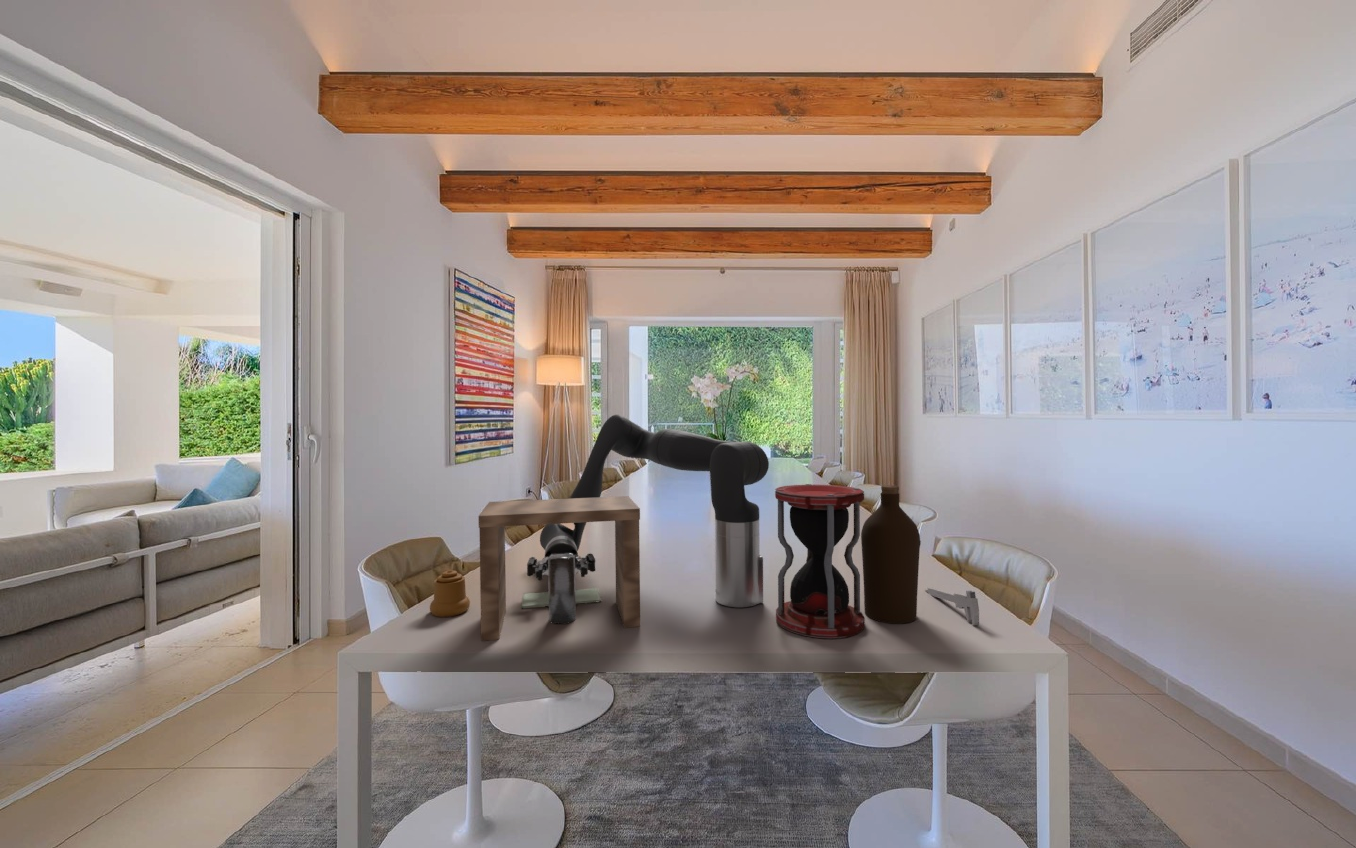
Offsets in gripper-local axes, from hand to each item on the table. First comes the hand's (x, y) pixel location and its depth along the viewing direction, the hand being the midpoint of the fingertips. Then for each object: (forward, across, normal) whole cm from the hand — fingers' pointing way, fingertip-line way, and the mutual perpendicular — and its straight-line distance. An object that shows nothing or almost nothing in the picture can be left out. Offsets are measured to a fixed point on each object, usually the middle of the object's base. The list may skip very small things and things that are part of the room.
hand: (561, 573), depth 113 cm
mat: (-5, 0, +7) cm, 8 cm away
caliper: (+19, +76, +7) cm, 79 cm away
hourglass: (+20, +47, +7) cm, 52 cm away
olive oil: (+20, +62, +7) cm, 66 cm away
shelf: (+7, 0, +7) cm, 10 cm away
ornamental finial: (-3, -22, +7) cm, 23 cm away
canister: (+7, 0, +7) cm, 10 cm away
